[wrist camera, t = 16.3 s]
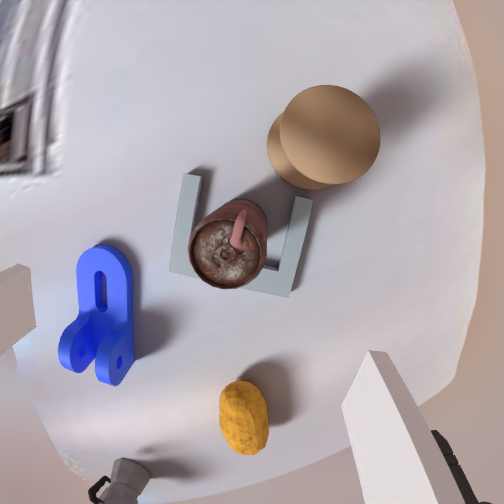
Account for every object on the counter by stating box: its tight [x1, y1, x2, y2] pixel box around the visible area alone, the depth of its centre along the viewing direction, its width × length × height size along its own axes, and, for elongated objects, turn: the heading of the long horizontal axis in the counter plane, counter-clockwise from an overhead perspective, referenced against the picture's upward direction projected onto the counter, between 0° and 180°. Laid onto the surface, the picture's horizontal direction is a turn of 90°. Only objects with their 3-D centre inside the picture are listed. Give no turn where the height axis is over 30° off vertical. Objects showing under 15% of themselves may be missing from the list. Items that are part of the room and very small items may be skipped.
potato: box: [219, 381, 269, 455], centre depth 39 cm, size 7×14×7 cm, turn 4°
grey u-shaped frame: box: [169, 174, 314, 298], centre depth 35 cm, size 12×15×2 cm
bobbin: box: [267, 85, 380, 190], centre depth 27 cm, size 10×10×12 cm
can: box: [188, 199, 267, 289], centre depth 29 cm, size 6×6×14 cm
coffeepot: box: [88, 459, 151, 504], centre depth 42 cm, size 15×9×18 cm, turn 19°
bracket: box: [58, 245, 135, 386], centre depth 35 cm, size 18×8×9 cm, turn 172°
